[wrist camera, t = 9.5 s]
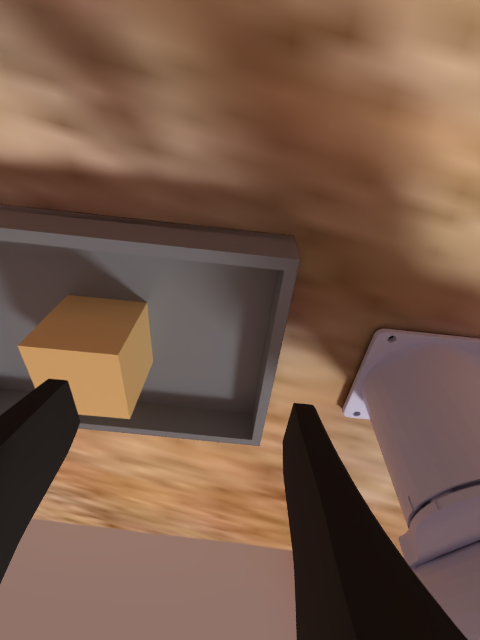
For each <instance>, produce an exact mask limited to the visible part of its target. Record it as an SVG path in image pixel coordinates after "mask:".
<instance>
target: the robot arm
mask: <svg viewBox="0 0 480 640" xmlns="http://www.w3.org/2000/svg"><path fill="white" fill-rule="evenodd" d="M391 336H394V337H393V338H391V339H388V338H389V337H391ZM342 412H343V415H344V416H346V417H351V418H361V419H370V420H371V423H372V426H373V429H374V432H375V435H376V437H377V440H378V443H379V446H380V449H381V452H382V455H383V457H384V460H385V463H386V466H387V469H388V472H389V474H390V477H391V480H392V483H393V486H394V489H395V491H396V494H397V497H398V500H399V503H400V506H401V508H402V511H403V514H404V517H405V520H406V523H407V525H408V528H409V530H408V531H407V532H406V533H405V534H404V535H402V536H400V537H399V538H398V539H399V542H400V545H401V549H402V552H403V555H404V558H405V559H404V558H403V557H402V555H401V554H400V553H399V551H398V550H397V548H396V547H395V546H394V544H393V543H392V541H391V540H390V538H389V537H388V536H387V534H386V533H385V531H384V530H383V528H382V527H381V525H380V524H379V522H378V521H377V519H376V518H375V516H374V515H373V513H372V512H371V510H370V508H369V507H368V505H367V504H366V502H365V500H364V499H363V497H362V496H361V494H360V492H359V491H358V489H357V487H356V486H355V484H354V482H353V481H352V479H351V477H350V475H349V474H348V472H347V470H346V468H345V466H344V465H343V463H342V461H341V459H340V457H339V456H338V454H337V452H336V450H335V448H334V446H333V444H332V442H331V440H330V438H329V436H328V434H327V432H326V430H325V428H324V426H323V424H322V422H321V420H320V418H319V415H318V413H317V411H316V409H315V407H314V406H313V405H308V404H298V403H294V404H293V407H292V411H291V414H290V418H289V421H288V425H287V428H286V432H285V435H284V439H283V475H284V484H285V492H286V501H287V509H288V517H289V525H290V533H291V542H292V550H293V561H294V574H295V575H294V576H295V599H296V627H297V628H296V629H297V640H480V338H470V337H461V336H451V335H442V334H432V333H422V332H413V331H403V330H393V329H380V330H377V331H376V332H375V333H374V335H373V338H372V340H371V342H370V345H369V347H368V349H367V352H366V354H365V357H364V359H363V361H362V364H361V366H360V368H359V371H358V373H357V375H356V378H355V380H354V382H353V385H352V387H351V389H350V392H349V394H348V397H347V399H346V401H345V404H344V406H343V408H342ZM80 422H81V421H80V418H79V415H78V412H77V408H76V405H75V402H74V399H73V395H72V392H71V389H70V386H69V382H68V380H58V379H47V380H46V381H45V382H43V383H42V384H41V385H39V386H38V387H37V388H35V389H34V390H33V391H31V392H30V393H29V394H28V395H26V396H25V397H24V398H22V399H21V400H20V401H18V402H17V403H16V404H14V405H13V406H12V407H11V408H9V409H8V410H7V411H5V412H4V413H3V414H1V415H0V583H1V581H2V579H3V577H4V574H5V572H6V570H7V568H8V565H9V563H10V561H11V559H12V557H13V554H14V552H15V550H16V548H17V545H18V543H19V541H20V539H21V537H22V535H23V534H24V532H25V530H26V528H27V526H28V524H29V522H30V520H31V519H32V517H33V515H34V513H35V511H36V510H37V508H38V506H39V504H40V502H41V501H42V499H43V497H44V495H45V494H46V492H47V490H48V488H49V486H50V485H51V483H52V481H53V479H54V477H55V476H56V474H57V472H58V470H59V468H60V466H61V465H62V463H63V461H64V459H65V457H66V455H67V454H68V451H69V449H70V447H71V444H72V442H73V440H74V437H75V435H76V432H77V429H78V427H79V424H80Z"/></svg>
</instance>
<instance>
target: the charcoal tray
mask: <svg viewBox="0 0 480 640" xmlns="http://www.w3.org/2000/svg"><path fill="white" fill-rule="evenodd" d="M299 263H300V257H299V253H298V250H297V246H296V242H295V238H294V236H290V235H280V234H271V233H262V232H253V231H243V230H234V229H225V228H215V227H206V226H197V225H188V224H178V223H169V222H160V221H150V220H141V219H132V218H123V217H113V216H104V215H95V214H85V213H76V212H67V211H58V210H48V209H39V208H30V207H21V206H11V205H2V204H0V415H1V414H3V413H4V412H5V411H7V410H8V409H9V408H11V407H12V406H13V405H14V404H16V403H17V402H18V401H20V400H21V399H22V398H24V397H25V396H26V395H28V394H29V393H30V392H31V391H33V390H34V389H35V387H34V384H33V382H32V379H31V377H30V375H29V372H28V370H27V367H26V365H25V363H24V360H23V358H22V355H21V353H20V351H19V348H18V345H19V344H20V343H21V342H22V341H23V340H24V339H25V338H26V337H27V336H28V335H29V333H30V332H31V331H32V330H33V329H34V328H35V327H36V326H37V325H38V324H39V323H40V322H41V321H42V320H43V319H44V318H45V317H46V316H47V315H48V314H49V313H50V312H51V311H52V310H53V309H54V308H55V307H56V306H57V305H58V304H59V303H60V302H61V301H62V300H63V299H64V298H65V297H66V296H67V295H73V296H84V297H94V298H105V299H116V300H126V301H137V302H147V306H148V316H149V326H150V336H151V346H152V356H153V363H152V366H151V368H150V371H149V373H148V375H147V378H146V380H145V383H144V385H143V388H142V390H141V393H140V395H139V398H138V400H137V403H136V405H135V408H134V410H133V413H132V415H131V418H130V419H123V418H112V417H101V416H90V415H79V414H78V415H79V418H80V421H81V422H80V424H79V427H78V428H80V429H90V430H100V431H111V432H121V433H131V434H141V435H152V436H162V437H172V438H182V439H192V440H203V441H213V442H223V443H233V444H244V445H254V446H260V442H261V437H262V432H263V428H264V423H265V419H266V414H267V410H268V405H269V400H270V396H271V391H272V387H273V382H274V377H275V373H276V368H277V364H278V359H279V355H280V350H281V345H282V341H283V336H284V332H285V327H286V322H287V318H288V313H289V309H290V304H291V300H292V295H293V290H294V286H295V281H296V277H297V272H298V268H299Z"/></svg>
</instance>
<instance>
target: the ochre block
mask: <svg viewBox="0 0 480 640" xmlns="http://www.w3.org/2000/svg"><path fill="white" fill-rule="evenodd" d="M18 348H19V351H20V353H21V355H22V358H23V360H24V363H25V365H26V367H27V370H28V372H29V375H30V377H31V379H32V382H33V384H34V387H35V388H37V387H38V386H39V385H41V384H42V383H43V382H45V381H46V380H47V379H58V380H68V382H69V386H70V389H71V392H72V395H73V399H74V402H75V405H76V408H77V412H78V414H79V415H90V416H101V417H112V418H123V419H130V418H131V415H132V413H133V410H134V408H135V405H136V403H137V400H138V398H139V395H140V393H141V390H142V388H143V385H144V383H145V380H146V378H147V375H148V373H149V371H150V368H151V366H152V363H153V356H152V346H151V336H150V326H149V316H148V306H147V302H137V301H126V300H116V299H105V298H94V297H84V296H73V295H67V296H66V297H65V298H64V299H63V300H62V301H61V302H60V303H59V304H58V305H57V306H56V307H55V308H54V309H53V310H52V311H51V312H50V313H49V314H48V315H47V316H46V317H45V318H44V319H43V320H42V321H41V322H40V323H39V324H38V325H37V326H36V327H35V328H34V329H33V330H32V331H31V332H30V333H29V335H28V336H27V337H26V338H25V339H24V340H23V341H22V342H21V343H20V344H19V345H18Z"/></svg>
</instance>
